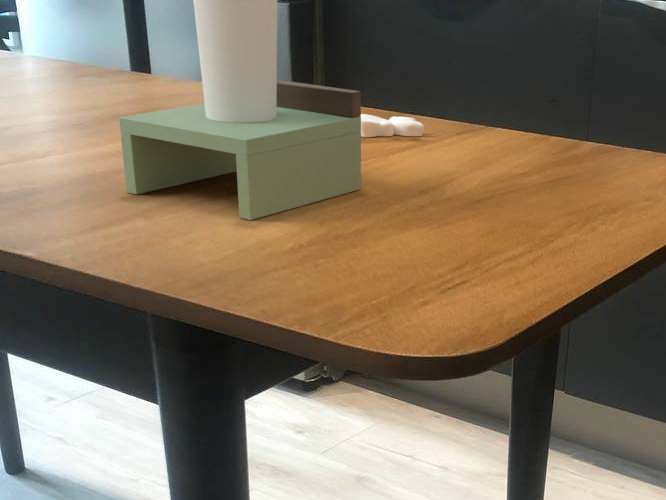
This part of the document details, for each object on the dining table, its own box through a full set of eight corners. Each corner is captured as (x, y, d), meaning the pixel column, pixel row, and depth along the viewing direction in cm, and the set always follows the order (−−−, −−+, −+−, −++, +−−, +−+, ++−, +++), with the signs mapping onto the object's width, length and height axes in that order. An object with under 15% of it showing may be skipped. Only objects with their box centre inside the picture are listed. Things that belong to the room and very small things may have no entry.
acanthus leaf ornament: (423, 137, 116) (424, 118, 115) (364, 140, 114) (364, 122, 113) (396, 124, 122) (397, 106, 121) (339, 127, 119) (339, 109, 119)
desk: (250, 220, 84) (245, 111, 80) (126, 192, 91) (115, 90, 87) (361, 189, 94) (361, 91, 90) (242, 166, 101) (237, 74, 97)
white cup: (183, 117, 88) (172, -20, 83) (236, 107, 93) (229, -23, 88) (247, 126, 85) (240, -15, 80) (298, 115, 90) (294, -18, 85)
